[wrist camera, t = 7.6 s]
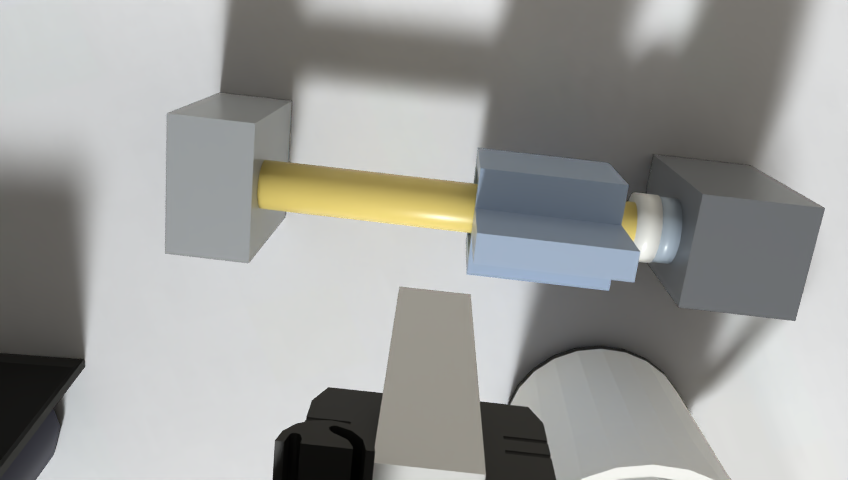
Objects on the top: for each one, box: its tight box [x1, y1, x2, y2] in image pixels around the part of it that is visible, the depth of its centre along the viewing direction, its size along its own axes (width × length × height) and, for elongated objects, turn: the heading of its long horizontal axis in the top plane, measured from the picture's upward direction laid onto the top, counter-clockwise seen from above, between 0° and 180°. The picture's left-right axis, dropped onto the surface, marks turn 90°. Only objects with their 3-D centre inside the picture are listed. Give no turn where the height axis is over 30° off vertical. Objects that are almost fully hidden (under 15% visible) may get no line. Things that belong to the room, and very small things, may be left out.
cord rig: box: [165, 93, 825, 321], centre depth 30 cm, size 22×5×7 cm, turn 84°
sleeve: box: [466, 148, 640, 291], centre depth 28 cm, size 5×4×7 cm
